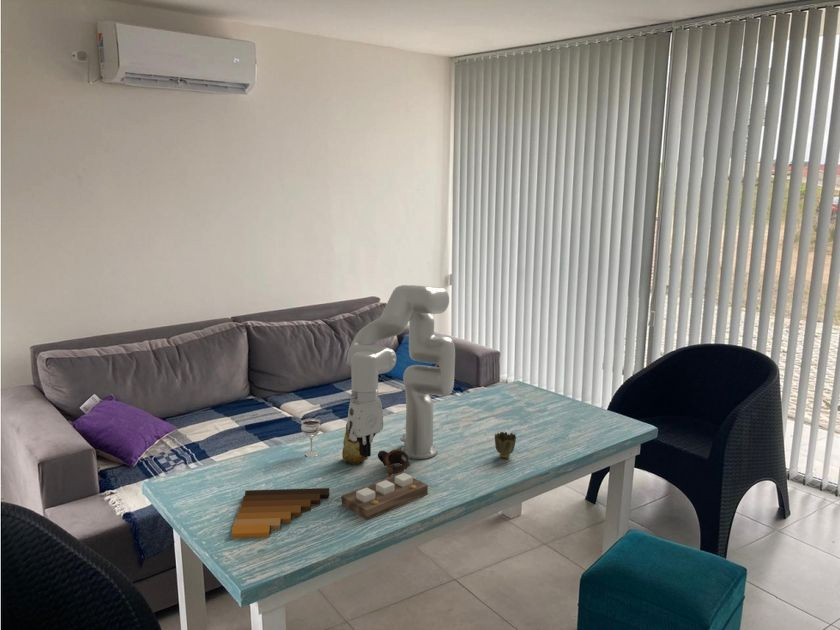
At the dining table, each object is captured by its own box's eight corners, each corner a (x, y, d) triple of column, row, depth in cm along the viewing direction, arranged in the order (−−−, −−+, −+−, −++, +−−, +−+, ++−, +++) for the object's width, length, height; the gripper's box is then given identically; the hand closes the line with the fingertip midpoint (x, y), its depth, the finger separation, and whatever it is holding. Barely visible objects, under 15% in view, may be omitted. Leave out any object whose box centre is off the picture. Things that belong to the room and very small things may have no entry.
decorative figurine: (372, 461, 240) (372, 419, 237) (357, 469, 233) (357, 426, 230) (350, 454, 245) (350, 413, 242) (335, 462, 238) (334, 420, 235)
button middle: (375, 491, 212) (375, 483, 212) (385, 487, 215) (385, 479, 214) (384, 496, 209) (384, 488, 209) (394, 491, 212) (394, 484, 211)
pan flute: (329, 495, 216) (246, 498, 214) (329, 485, 215) (246, 487, 213) (325, 537, 192) (231, 540, 190) (325, 526, 191) (231, 529, 189)
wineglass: (320, 458, 242) (319, 425, 239) (300, 458, 242) (299, 425, 239) (322, 450, 248) (321, 418, 246) (303, 450, 248) (302, 418, 246)
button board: (341, 505, 209) (341, 495, 208) (401, 481, 225) (401, 471, 224) (366, 519, 200) (366, 509, 199) (427, 493, 216) (427, 484, 216)
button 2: (394, 484, 217) (394, 476, 217) (404, 480, 220) (404, 472, 219) (403, 488, 214) (403, 480, 214) (412, 484, 217) (412, 476, 216)
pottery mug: (414, 467, 236) (415, 452, 231) (401, 488, 230) (402, 474, 224) (382, 453, 240) (383, 438, 234) (369, 474, 234) (369, 459, 228)
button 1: (356, 499, 207) (356, 491, 206) (366, 495, 210) (366, 487, 209) (364, 504, 204) (364, 496, 204) (375, 499, 207) (375, 491, 206)
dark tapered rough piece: (490, 458, 242) (491, 437, 241) (498, 451, 249) (499, 430, 247) (510, 463, 239) (511, 441, 237) (518, 455, 245) (519, 434, 244)
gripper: (352, 403, 192) (352, 466, 196) (393, 392, 202) (393, 452, 206) (335, 397, 198) (336, 458, 201) (376, 386, 208) (376, 445, 211)
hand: (365, 455), depth 204 cm, fingers closed
